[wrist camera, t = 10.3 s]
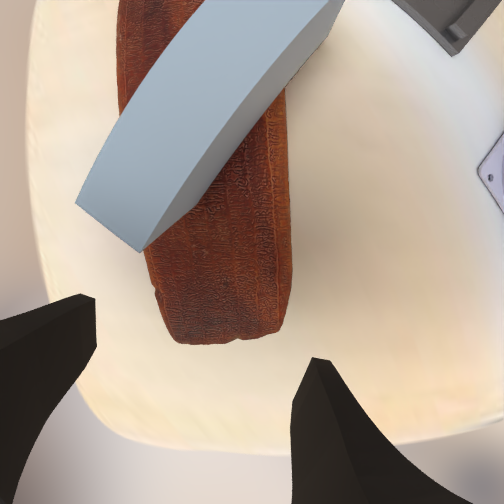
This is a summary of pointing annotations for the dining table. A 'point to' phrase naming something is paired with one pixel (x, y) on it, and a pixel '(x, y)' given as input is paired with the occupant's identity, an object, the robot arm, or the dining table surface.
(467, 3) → the metal plate
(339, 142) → the dining table surface
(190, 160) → the pale blue upright panel
